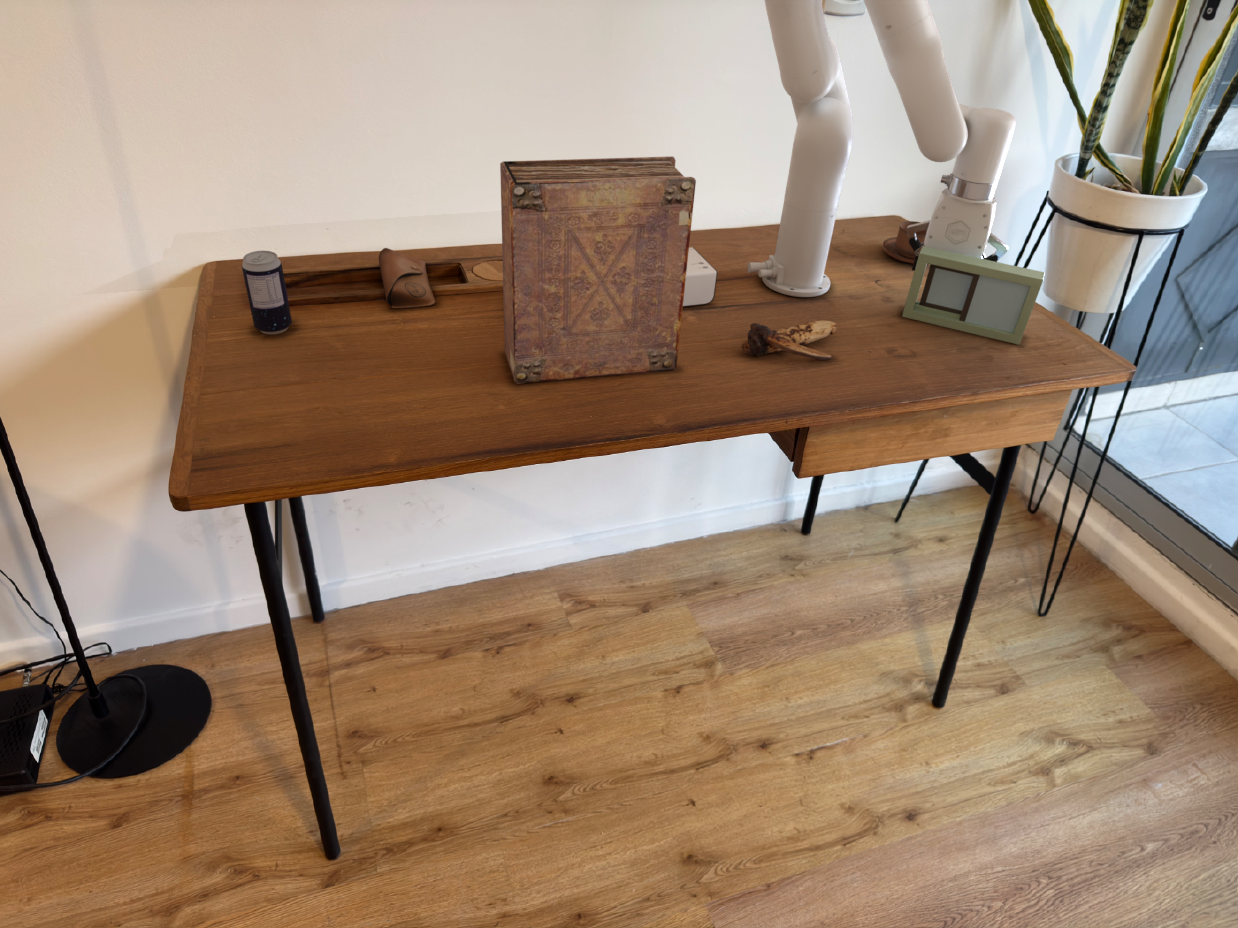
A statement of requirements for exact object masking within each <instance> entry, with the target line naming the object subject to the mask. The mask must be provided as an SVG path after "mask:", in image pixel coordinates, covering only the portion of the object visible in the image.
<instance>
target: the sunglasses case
mask: <svg viewBox="0 0 1238 928" xmlns="http://www.w3.org/2000/svg"><path fill="white" fill-rule="evenodd" d="M378 264H379V269H380V274H381V280H382V285H383V292H384V296H385V300H386V303H387V305H389V307H390V308H392V309H394V310H398V309H400V310H401V309H404V310H405V309H417V308H424V307H429V306H430V307H431V306H433V305H435V304H436V303H437V302H436V299H435V295H434V293H433V291H432V290H433V289H432V288H431V284H430V281H429V278H428V277H429V276H428V273H427V266H426V265H427V264H426V261H425V260H423V259H419V258H416V257H412V256H409V255H405V254H402V253H399V252H397V251H395V250H393V249H391V248H388V247H384V248H382V249H381V250H380V252H379V254H378Z"/></svg>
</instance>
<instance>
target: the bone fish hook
mask: <svg viewBox="0 0 1238 928" xmlns="http://www.w3.org/2000/svg"><path fill="white" fill-rule="evenodd" d="M749 327H750V329H749V330H748V332H747V340H745V341H744V342H743V343H742V344H741V348H742V351H743V353H745V354H747V355H752V356H753V355H754V356H757V357H760V356H764V355H766V354H767V355H768V354H772V353H778V352H783V351H784V352H786V353H791V354H794V355H795V356H800V357H805V358H809V359H813V360H814V359H815V360H821V361H825V360H827V361H828V360H830V359H832V358H833V357H832V355H830V354H827V353H825V352H822V351H820V350H816V349H813V348H811V347H807V345H808V344H811V343H814V342H817V341H819V340H822V339H824V338H827V337H830V335H834V334H835V333H837V332H836V331H837V327H838V325H837V323H836V322H835V321H832V320H823V319H822V320H815V321H810V322H809V321H808V322H804V323H801V324H796V325H793V326H791V327H786V328H781V329H777V330H776V329H771V328H769V327H768V326H767V325H765V324H760V323H757V322H752V323H750V325H749Z"/></svg>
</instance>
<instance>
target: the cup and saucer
mask: <svg viewBox="0 0 1238 928" xmlns="http://www.w3.org/2000/svg"><path fill="white" fill-rule="evenodd" d="M920 222H921V221H913V220H912V221H911V220H910V221H903V222H901V223H900V224H899V228H898V232H897V236H894V237H889V238H887V239H885V240H883V242H882V248H883V250H884V251H885V253H886V254H887V255H888V256H890V258H891V257H892V258H893V259H895V260H897V261H900V262H903V263H906V264H911V265H913V264H914V260H915V257H916V255H915V252H914V250H913V249H912V247H911V246H910V244H909V239H908V236H907V232H906V229H907V227H908V226H909V225H913V224H917V223H920ZM926 233H927V230H923V231H919V232H916V237H917V238H918V240H919V241H920V243H923V242H924V241H925V236H926ZM927 265H929V264H928V263H927Z"/></svg>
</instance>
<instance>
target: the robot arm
mask: <svg viewBox="0 0 1238 928" xmlns="http://www.w3.org/2000/svg"><path fill="white" fill-rule="evenodd" d="M863 2H864V5H865V8H866V10H867V13H868V16H869V18H870V21H871V24H872V26H873V30H874V32H875V35H876V37H877V41H878V43H879V46H880V49H881V52H882V55H883V57H884V60H885V63H886V66H887V70H888V71H889V74H890V76H891V79H892V80H893V82H894V84H895V86H896V89H897V91H898V93H899V97H900V100H901V102H902V105H903V108H904V110H905V113H906V116H907V119H908V121H909V124H910V127H911V130H912V133H913V136H914V138H915V141H916V144H917V146H918V149H919V151H920V153H921V154H922V155H923V156H924V157H925V159H927V160H930V161H932V162H935V163H946V162H950V161H952V160H953V159H955V161H954V165H953V167H952V168H953V169H952V171H951V173H949V174H942V175H941V179H940V181H939V183H940V184H941V183H942V184H944V185H946V188H944V189H943V190H942V191H941V193H940V195H939V197H938V199H937V201H936V204H935V206H934V208H933V212H932V214H931V216H930V219H929V220H925V221H919V222H920V223H917V224H913V225H909V226H908V227H907V229H906V232H907V236H908V239H909V244H910V246H911V247H912V249H913V250H914V252H915V255H916V257H915V260H914V264H912V267H911V271H913V272H914V271H915V268H916V264H917V261H918V257H919V253H920V251H921V249H922V247H923V246H925V247H929V248H934V249H939V250H943V251H948V252H953V253H957V254H962V255H967V256H971V257H976V258H980V259H985V260H990V261H994V262H999V260H1000V259H1001V258H1002V257H1003V256H1005V254H1007V252H1008V251H1009V246H1008V245H1007V244H1006V243H1005V242H1003V240H1001V239H1000V238H998V237H997V236H996V235H995V234H993V233H992V227H993V223H994V219H995V214H996V208H997V199H996V197H994V196H995V193H996V189H997V187H998V183H999V180H1000V177H1001V174H1002V171H1003V167H1004V165H1005V161H1006V158H1007V154H1008V152H1009V148H1010V145H1011V142H1012V139H1013V135H1014V132H1015V130H1016V125H1017V120H1016V117H1015V115H1014V114H1012V113H1010V112H1008V111H1006V110H1002V109H998V108H990V107H984V108H983V107H981V108H980V107H979V108H978V107H973V106H968V105H965V104H961V103H959V101H958V97H957V94H956V91H955V88H954V85H953V82H952V79H951V76H950V73H949V70H948V69H949V68H948V66H947V62H946V58H945V53H944V47H943V43H942V38H941V35H940V32H939V29H938V26H937V22H936V20H935V17H934V14H933V11H932V8H931V5H930V2H929V0H863ZM764 5H765V10H766V15H767V19H768V23H769V29H770V32H771V33H770V34H771V39H772V43H773V47H774V51H775V55H776V59H777V64H778V70H779V77H780V82H781V85H782V87H783V89H784V90H785V92H786V94H787V95H788V96H789V97H790V100H791V103H792V104H791V105H792V107H793V108H792V109H793V112H794V116H795V119H796V120H795V121H796V124H797V125H796V129H795V134H794V140H793V142H792V149H791V155H790V156H791V157H790V162H789V169H788V174H787V175H788V176H787V181H786V187H785V191H784V197H783V204H782V210H781V216H780V222H779V228H778V232H777V233H778V234H777V238H776V245H775V250H774V254H770V255H769V256H768V260H764V261H763V262H758V261H756V262H755V261H754V262H752V261H751V262H748V263H747V266H746V267H747V269H746V270H747V273H748V274H758V277H759V278H762V279H761V281H762V282H763V284H764V285H765V286H766V287H767V288H769V290H772V291H774V292H776V293H779V294H782V295H786V296H791V297H796V298H813V297H814V298H815V297H819V296H822V295H824V294H825V293H827V292H828V291H829V290H830V287H831V280H830V278H829V276H828V275H826V274H825V270H826V266H827V261H828V256H829V253H830V247H831V242H832V237H833V232H834V228H835V223H836V218H837V213H838V209H839V204H840V198H841V195H842V194H841V193H842V189H843V185H844V181H845V176H846V172H847V169H848V165H849V161H850V157H851V153H852V149H853V142H854V118H853V117H854V116H853V112H852V107H851V101H850V98H849V93H848V89H847V83H846V79H845V75H844V74H845V73H844V70H843V67H842V66H843V65H842V61H841V56H840V53H839V49H838V47H837V44H836V43H835V41H834V40H833V39H832V38H831V37H830V36H829V33H828V28H827V24H826V20H825V14H824V7H823V3H822V0H764ZM923 230H927V233H926V236H925V241H924V242H923V243H920V241H919V240H918V238H917V237H916V232H919V231H923ZM988 244H989V245H991V246H992V247H993V248H994V249H995V252H994V253H992V254H990V255H988V256H986V254H985V251H986V248H987V245H988Z"/></svg>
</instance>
